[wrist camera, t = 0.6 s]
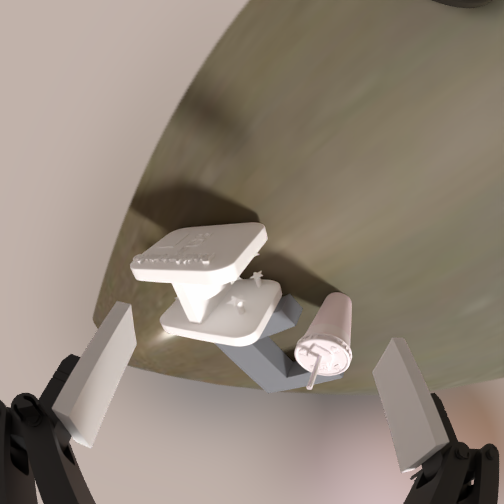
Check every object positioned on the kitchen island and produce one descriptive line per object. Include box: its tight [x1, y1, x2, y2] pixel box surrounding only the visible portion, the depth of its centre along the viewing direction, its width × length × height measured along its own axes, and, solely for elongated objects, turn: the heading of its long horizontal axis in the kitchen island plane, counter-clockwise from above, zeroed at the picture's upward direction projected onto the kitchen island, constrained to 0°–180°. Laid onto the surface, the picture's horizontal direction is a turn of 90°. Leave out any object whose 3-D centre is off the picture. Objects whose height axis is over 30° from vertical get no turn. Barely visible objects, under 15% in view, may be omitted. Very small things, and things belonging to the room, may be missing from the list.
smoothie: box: [294, 292, 352, 390], centre depth 31 cm, size 6×6×14 cm
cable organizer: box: [130, 222, 282, 346], centre depth 35 cm, size 15×11×12 cm
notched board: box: [215, 294, 344, 393], centre depth 43 cm, size 16×15×4 cm
